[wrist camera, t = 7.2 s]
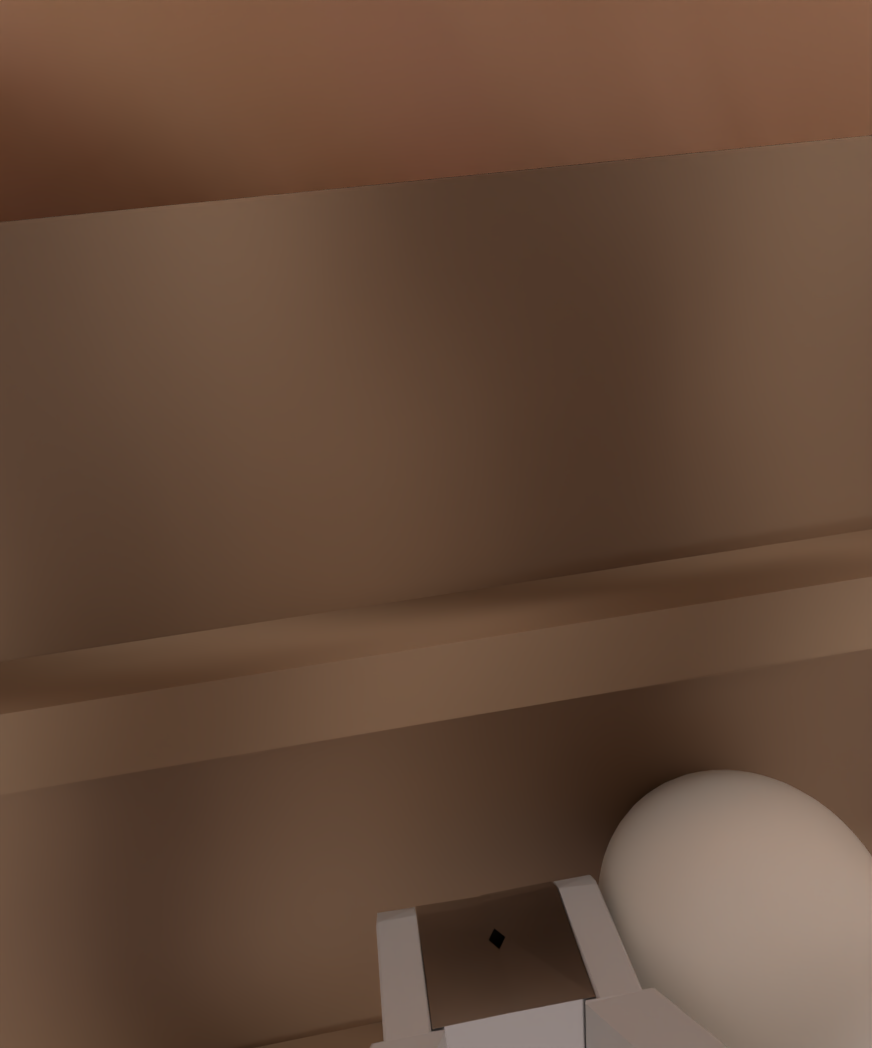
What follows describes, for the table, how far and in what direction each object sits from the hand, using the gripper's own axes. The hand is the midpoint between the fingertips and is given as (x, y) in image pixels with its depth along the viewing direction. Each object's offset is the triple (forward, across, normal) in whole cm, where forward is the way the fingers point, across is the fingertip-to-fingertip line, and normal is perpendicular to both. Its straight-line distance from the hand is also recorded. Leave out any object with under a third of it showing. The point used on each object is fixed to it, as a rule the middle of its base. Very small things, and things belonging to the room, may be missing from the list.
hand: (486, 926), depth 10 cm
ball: (-1, -3, 0) cm, 3 cm away
